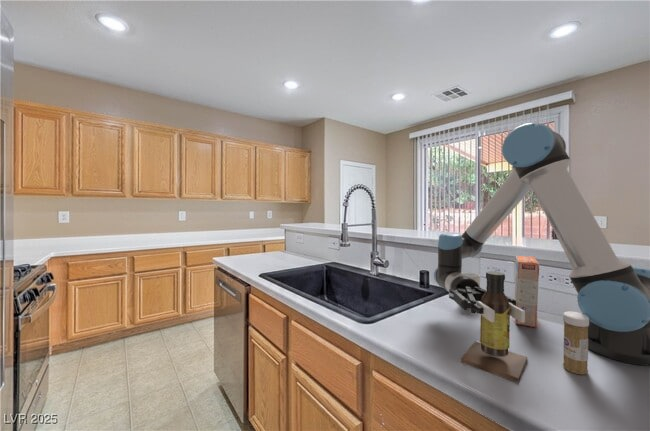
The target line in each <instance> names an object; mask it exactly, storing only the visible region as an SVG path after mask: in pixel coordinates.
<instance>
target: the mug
mask: <svg viewBox="0 0 650 431" xmlns="http://www.w3.org/2000/svg"><path fill="white" fill-rule="evenodd" d="M461 273H462V274H464V275H466V276H468V277H469V278H471V279H473V280H475V281H476V282H477V283H478V285H479V286H480V287H481V274H479V273H475V272H470V271H469V272H467V271H466V272H461ZM476 303H477V301H476Z"/></svg>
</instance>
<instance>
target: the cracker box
mask: <svg viewBox="0 0 650 431" xmlns="http://www.w3.org/2000/svg"><path fill="white" fill-rule="evenodd" d="M514 270H515V274H514V296H513V297H514V298H513V299H514V300H516V306H517V307H519V308H520V309H522V310H524V311H525V323H521V322H520V321H518V320H517V319H515V318H514V320H515V324H516V325H521V326H524V327H525V326H526V327H529V328H537V326H538V325H537V323H538V322H537V321H538V320H537V319H538V301H539V299H538V298H539V297H538V296H539V277H540V276H539V275H540V263H539V262H538V260H537V259H536V258H535V257H534V256H529V255H516V256H515V269H514Z"/></svg>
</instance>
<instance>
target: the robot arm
mask: <svg viewBox="0 0 650 431" xmlns="http://www.w3.org/2000/svg"><path fill="white" fill-rule="evenodd" d="M501 152H502V156H503V159H504V160H505V161H506V163H508V164H509V165H510V166H511V172H510V174H509V175H508V177H507V178H506V179H505V180H504V182H503V183H502V184H501V185H500V187H499V188H498V189H497V190H496V191H495V193H494V194H493V195H492V197H491V198H490V199H489V200H488V201H487V203H486V204H485V205H484V207H483V208H482V209H481V211H480V212H479V213H478V214H477V216H476V217H475V218H474V219H473V220H472V222H471V223H470V224H469V226H468V227H467V228H466V229H465V231H464V232H463V233H462V234H460V233H459V234H458V233H450V232H449V233H440V234H439V236H438V241H437V242H438V243H437V249H438V250H437V267H436V269H435V270H434V272H433V280H435V282H436V284H437V285H438V286H439V287H440V288H442V289H444V290H445V291H446V292H448V298H449V299H450V300H452V301H454V303H456V305H458V306H459V307H460V308H461V309H462V310H464V311H467V310H468V309H470V314H473V315H476V314H478V315H480V316H481V315H482V316H483V317H485V318H486V319H487V320H489V321H490V322H494V318H495V311H494V310H493V309H491V308H490V307H488V306H487V305H485V304H484V303H482V302H481V298H482V296H483V295H484V293H485V292H486V291H487V290H486V289H484V288H482V287H481V285H480V286H479V285H478V283H477V282H476V281H475V280H473V279H471V278H469V277H468V276H466V275H464V274H462V273H463V272H462V271H463V270H462V269H463V268H462V266H463V264H462V263H463V262H462V261H463V260H464V259H467V258H473V257H475V256H477V255H478V254H480V253H481V252H482V250H483V245H484V244H485V243H486V242H487V241H488V240H489V238H490V237H491V236H492V235H493V234H494V233H495V231H496V230H497V229H498V228H499V227H500V226H501V225H502V223H504V221H505V220H506V219H507V218H508V216H509V215H510V214H511V213H512V212H513V210H515V208H516V207H517V206H518V205H519V204H520V202H521V201H522V200H523V199H524V198H525V197H526V196H527V194H528V193H529V192H531V190H532V192H533V193H534V195H535V197H536V199H537V201H538V203H539V205H540V206H541V209H542V211H543V212H544V215H545V216H546V218H547V220H548V222H549V225H550V226H551V228H552V230H553V232H554V233H555V234H554V235H555V236H556V239H558V242H559V244H560V246H561V248H562V250H563V252H564V254H565V255H566V257H567V259H568V261H569V263H570V265H571V267H572V269H571V272H570V273H569V280H570V281H571V282H572V285H573V287H574V289H575V291H576V292H577V297H576V298H577V305H578V308H579V310H580V313H582V314H584V315H586V316H588V317H589V326H588V350H590V351H592V352H594V353H596V354H599V355H600V356H604V357H605V358H609V359H613V360H616V361H619V362H623V363H628V364H633V365H638V366H647V367H649V366H650V269H648V268H644V267H643V268H642V267H636V266H635V267H634V266H632V265H631V263H630V262H627V261H626V260H622V259H619V258H618V257H617V254H616V253H615V251H614V250H613V248H612V246H611V245H610V242H609V241H608V239H607V237H606V235H605V234H604V232H603V230H602V229H601V227H600V225H599V223H598V221H597V220H596V218H595V216H594V215H593V213H592V211H591V209H590V207H589V206H588V203H587V202H586V200H585V198H584V196H583V194H582V192H581V191H580V190H579V188H578V186H577V185H576V182H575V180H574V179H573V177H572V175H571V174H570V172H569V170H568V168H569V166H570V164H571V161H572V160H571V158H570V157H569V155H568V153H567V145H566V141H565V139H564V137H562V135H560V134H559V133H558V132H556V131H555V130H553V129H552V128H551V127H550V126H548V125H545V123H544V124H543V123H537V122H529V123H524V124H522V125H519V126H517V127H515V128H514V129H513V130H511V131H510V132H509V133H508V134H507V136H506V137H505V139H504V141H503V142H502V147H501ZM505 296H506V297H507V299H508V301H509V305H510V317H512V318H513V319H514V320H515V319H517V320H518V321H520V322H521V323H525V311H524V310H522V309H520V308H519V307H517V306H516V300H514V298H512V297H510V296H507V295H506V294H505ZM476 301H477V303H476Z"/></svg>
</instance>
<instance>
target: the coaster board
mask: <svg viewBox="0 0 650 431" xmlns="http://www.w3.org/2000/svg"><path fill="white" fill-rule="evenodd" d="M460 363H463V364H465V365H468V366H471V367H473V368H477V369H480V370H481V371H484V372H488V373H490V374H493V375H496V376H498V377H502V378H504V379H507V380H509V381H512V382H515V383H519V382H520V380H521V377H522V375H523V372H524V370H525V367H526V366H527V363H528V356H526V355H525V356H524V355H522V354H520V353H519V354H518V353H516V352H512V351H509V352H508V355H507V356H504V357H498V356H492V355H489V354H486V353H485V352H483V351H482V349H481V342H480V341H474V342H473V343H472V345H471V346H470V347H469V348H468V349H467V351H465V353H464V354H463V355H462V356H461V358H460Z"/></svg>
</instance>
